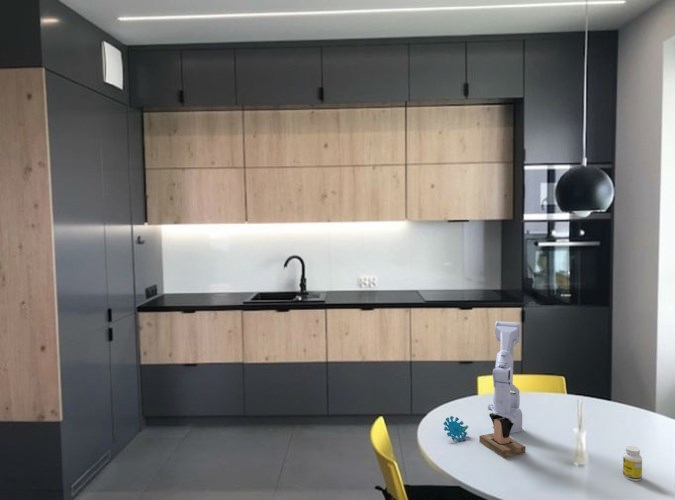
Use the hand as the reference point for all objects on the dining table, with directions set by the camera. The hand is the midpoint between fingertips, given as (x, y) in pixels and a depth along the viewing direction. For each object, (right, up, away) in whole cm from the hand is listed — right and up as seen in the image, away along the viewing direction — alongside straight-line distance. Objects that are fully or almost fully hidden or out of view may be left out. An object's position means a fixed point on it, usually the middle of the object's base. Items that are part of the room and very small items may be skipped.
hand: (501, 434), depth 190 cm
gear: (-15, -5, +10) cm, 18 cm away
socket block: (0, -5, 0) cm, 5 cm away
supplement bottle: (+36, -6, -23) cm, 43 cm away
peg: (0, -2, 0) cm, 2 cm away
